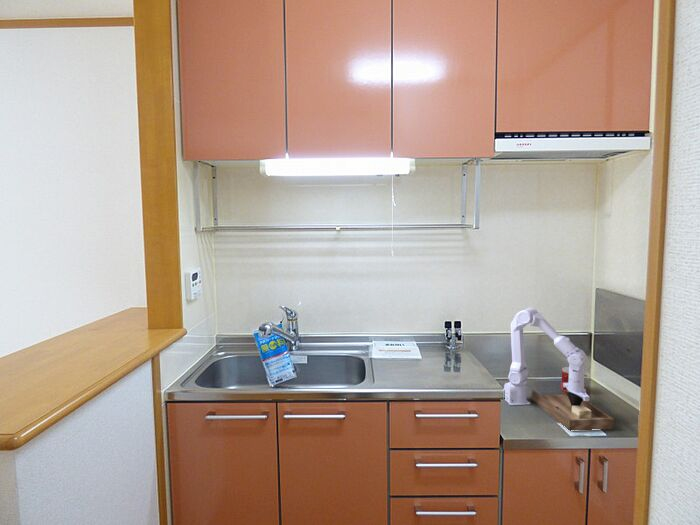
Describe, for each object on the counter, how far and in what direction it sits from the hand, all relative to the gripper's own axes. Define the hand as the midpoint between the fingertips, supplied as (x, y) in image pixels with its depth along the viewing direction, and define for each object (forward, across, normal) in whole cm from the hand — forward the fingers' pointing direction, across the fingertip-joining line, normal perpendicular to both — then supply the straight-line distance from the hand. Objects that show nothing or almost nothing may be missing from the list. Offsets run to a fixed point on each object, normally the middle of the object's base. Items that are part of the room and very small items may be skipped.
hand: (575, 410), depth 168 cm
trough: (+3, +4, 0) cm, 5 cm away
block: (+1, -4, 0) cm, 4 cm away
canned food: (+3, +25, -14) cm, 29 cm away
